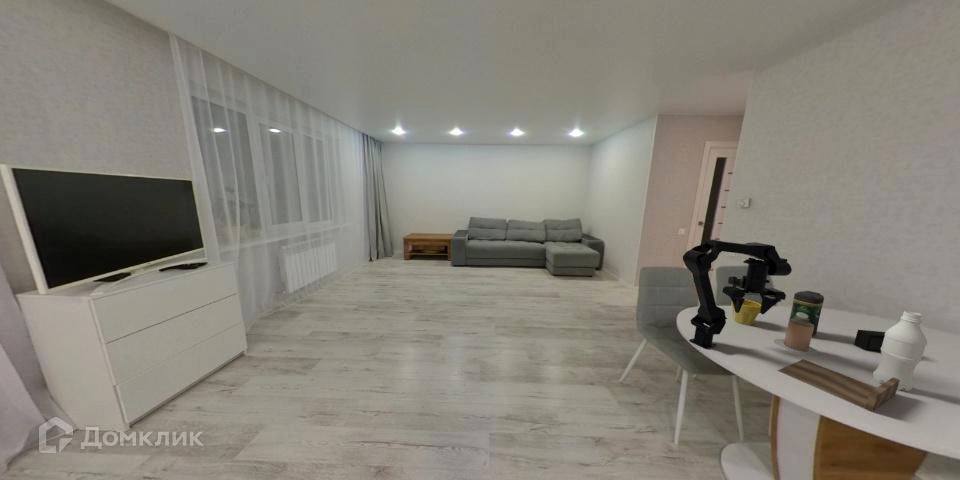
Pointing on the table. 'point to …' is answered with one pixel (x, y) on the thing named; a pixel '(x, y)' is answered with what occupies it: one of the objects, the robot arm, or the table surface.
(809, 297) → the coffee jar
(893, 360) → the water bottle
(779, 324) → the table surface
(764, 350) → the table surface
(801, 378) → the wooden bookend
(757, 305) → the plant pot
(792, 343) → the terracotta pot
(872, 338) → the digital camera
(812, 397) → the table surface
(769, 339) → the table surface
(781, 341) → the ceramic saucer
